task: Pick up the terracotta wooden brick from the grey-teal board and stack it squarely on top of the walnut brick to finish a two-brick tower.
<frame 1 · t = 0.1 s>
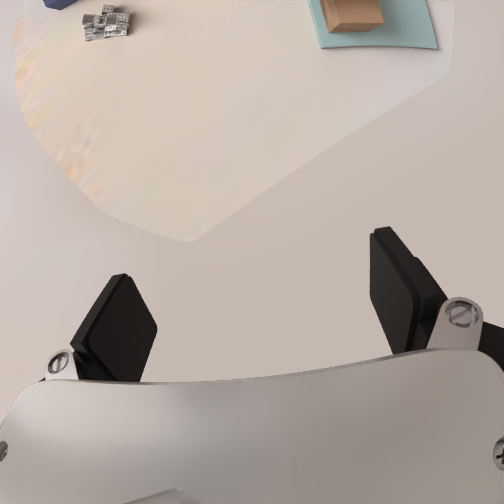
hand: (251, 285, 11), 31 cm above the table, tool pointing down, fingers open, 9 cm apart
miniature building cluster: (117, 13, 27), on the table
walnut brick: (341, 6, 26), point 1 cm above the table, touching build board
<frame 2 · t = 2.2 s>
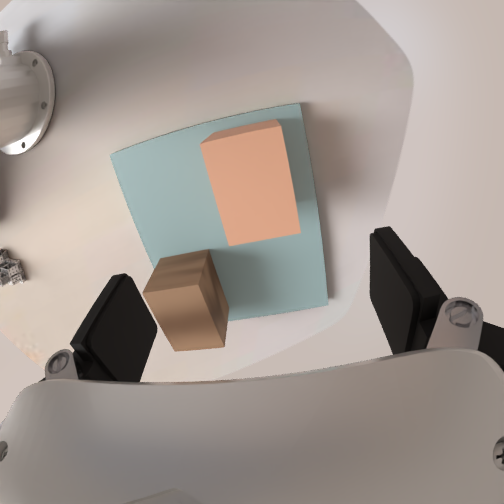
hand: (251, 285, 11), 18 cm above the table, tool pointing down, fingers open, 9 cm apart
miniature building cluster: (10, 252, 33), on the table
walnut brick: (195, 284, 32), point 1 cm above the table, touching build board
terracotta brick: (254, 168, 25), point 1 cm above the table, touching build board
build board: (228, 230, 30), on the table
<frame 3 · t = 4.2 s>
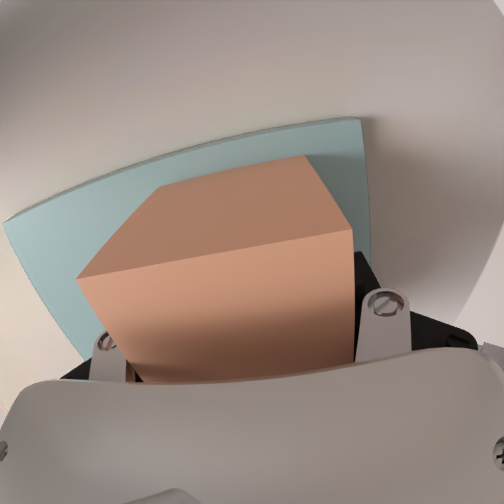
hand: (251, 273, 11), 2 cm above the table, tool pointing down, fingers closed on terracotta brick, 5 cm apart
terracotta brick: (252, 263, 12), point 1 cm above the table, touching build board, gripper
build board: (208, 347, 17), on the table
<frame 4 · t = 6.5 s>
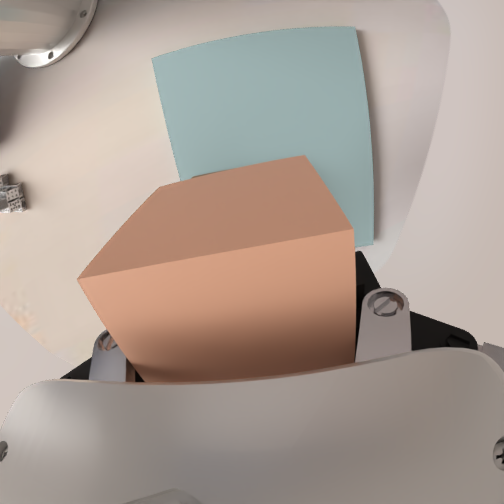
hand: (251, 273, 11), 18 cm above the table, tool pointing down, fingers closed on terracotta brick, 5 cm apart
miniature building cluster: (11, 178, 27), on the table
terracotta brick: (252, 263, 12), point 17 cm above the table, touching gripper
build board: (274, 148, 26), on the table
when the fingers open (9 cm above the table, at t = 8.9 s): terracotta brick stays where it is, resting on walnut brick.
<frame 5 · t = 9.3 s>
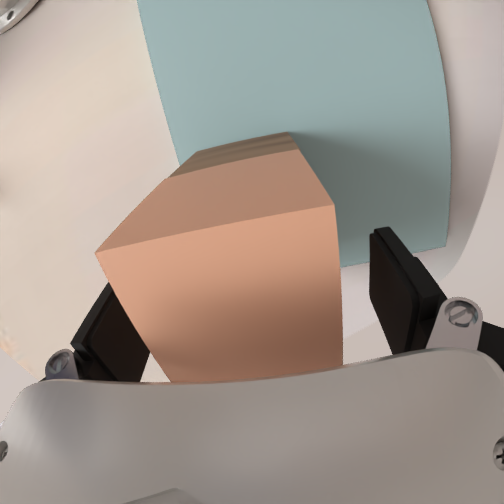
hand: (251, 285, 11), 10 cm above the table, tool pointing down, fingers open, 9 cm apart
walnut brick: (255, 202, 18), point 1 cm above the table, touching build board, terracotta brick
terracotta brick: (251, 249, 13), point 7 cm above the table, touching walnut brick
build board: (317, 108, 16), on the table
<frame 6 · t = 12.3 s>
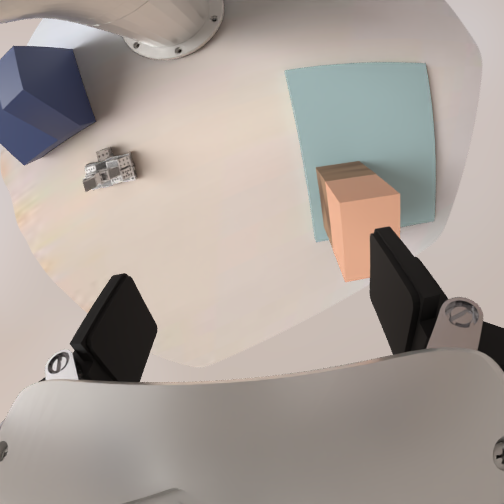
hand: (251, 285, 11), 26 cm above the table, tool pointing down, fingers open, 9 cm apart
miniature building cluster: (114, 151, 34), on the table
blue angular block: (53, 104, 30), on the table
walnut brick: (341, 194, 35), point 1 cm above the table, touching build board, terracotta brick
terracotta brick: (354, 213, 29), point 7 cm above the table, touching walnut brick
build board: (371, 149, 33), on the table
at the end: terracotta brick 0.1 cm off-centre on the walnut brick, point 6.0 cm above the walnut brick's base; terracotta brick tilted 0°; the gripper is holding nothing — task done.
